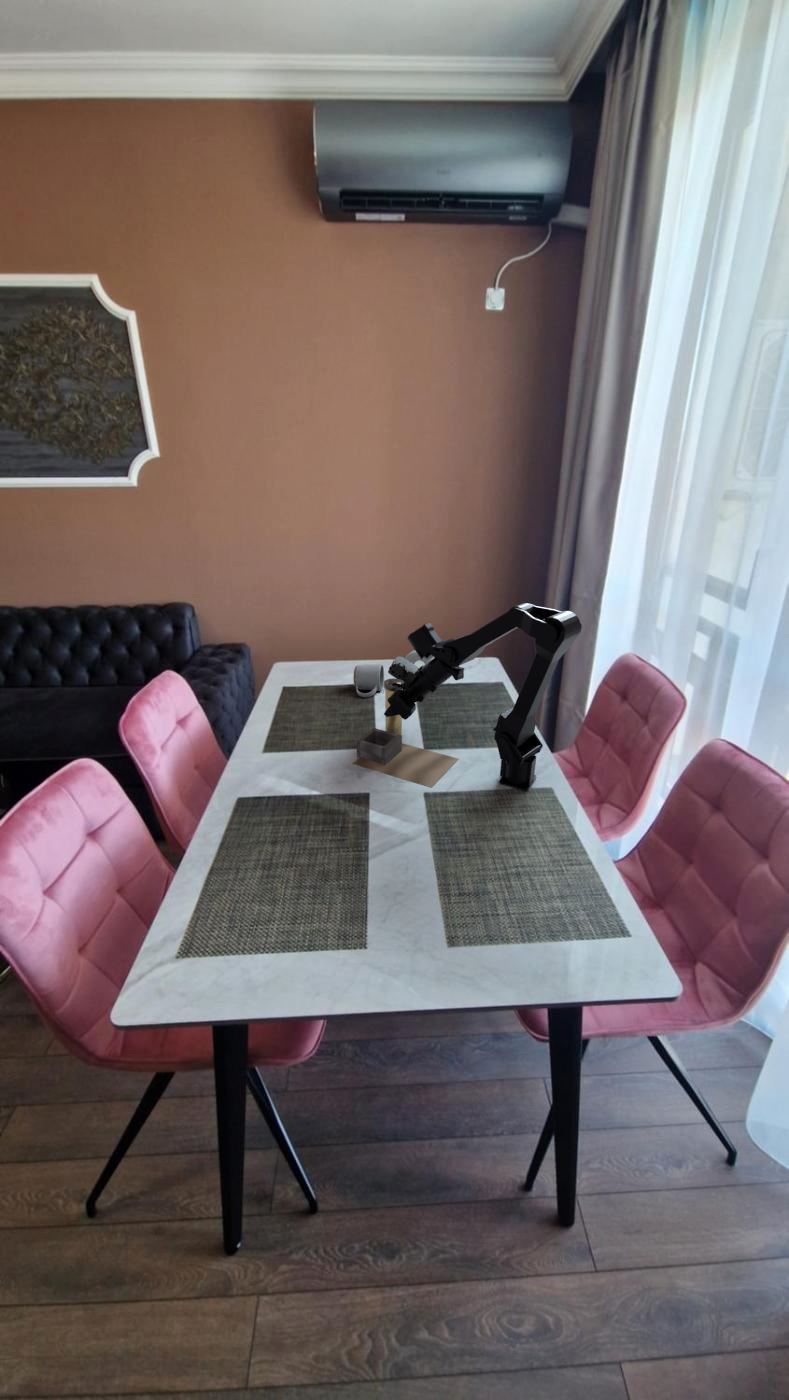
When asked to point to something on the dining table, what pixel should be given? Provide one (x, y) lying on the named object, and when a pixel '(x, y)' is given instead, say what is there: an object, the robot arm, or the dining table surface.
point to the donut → (416, 658)
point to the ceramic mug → (368, 678)
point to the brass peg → (393, 721)
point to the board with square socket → (401, 758)
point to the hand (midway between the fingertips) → (388, 711)
